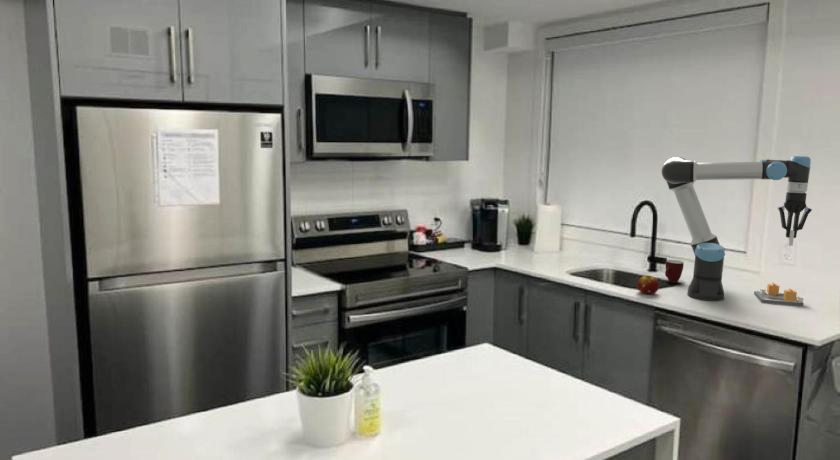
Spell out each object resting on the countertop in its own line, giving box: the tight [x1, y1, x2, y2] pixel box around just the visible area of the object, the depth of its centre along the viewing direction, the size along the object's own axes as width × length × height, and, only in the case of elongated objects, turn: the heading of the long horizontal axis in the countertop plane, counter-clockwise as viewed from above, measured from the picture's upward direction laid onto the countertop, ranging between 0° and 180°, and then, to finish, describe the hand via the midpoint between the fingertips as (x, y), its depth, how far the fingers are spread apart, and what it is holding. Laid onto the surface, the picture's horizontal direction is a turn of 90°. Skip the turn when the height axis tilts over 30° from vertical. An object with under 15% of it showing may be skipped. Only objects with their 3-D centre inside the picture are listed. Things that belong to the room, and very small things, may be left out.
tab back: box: [766, 282, 780, 295], centre depth 272 cm, size 4×3×5 cm
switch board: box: [753, 287, 805, 307], centre depth 268 cm, size 16×14×4 cm
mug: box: [664, 259, 685, 283], centre depth 296 cm, size 10×8×10 cm
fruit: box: [636, 274, 660, 295], centre depth 275 cm, size 10×9×8 cm
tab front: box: [783, 288, 798, 301], centre depth 262 cm, size 4×3×5 cm
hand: (789, 244), depth 267 cm, fingers closed
